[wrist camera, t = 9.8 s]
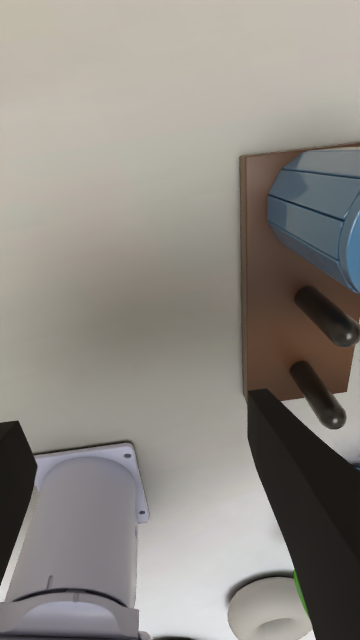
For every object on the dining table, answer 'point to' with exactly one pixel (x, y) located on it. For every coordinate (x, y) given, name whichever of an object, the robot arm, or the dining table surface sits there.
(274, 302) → the rack
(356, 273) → the cup
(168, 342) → the dining table surface
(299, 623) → the donut
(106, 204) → the dining table surface
